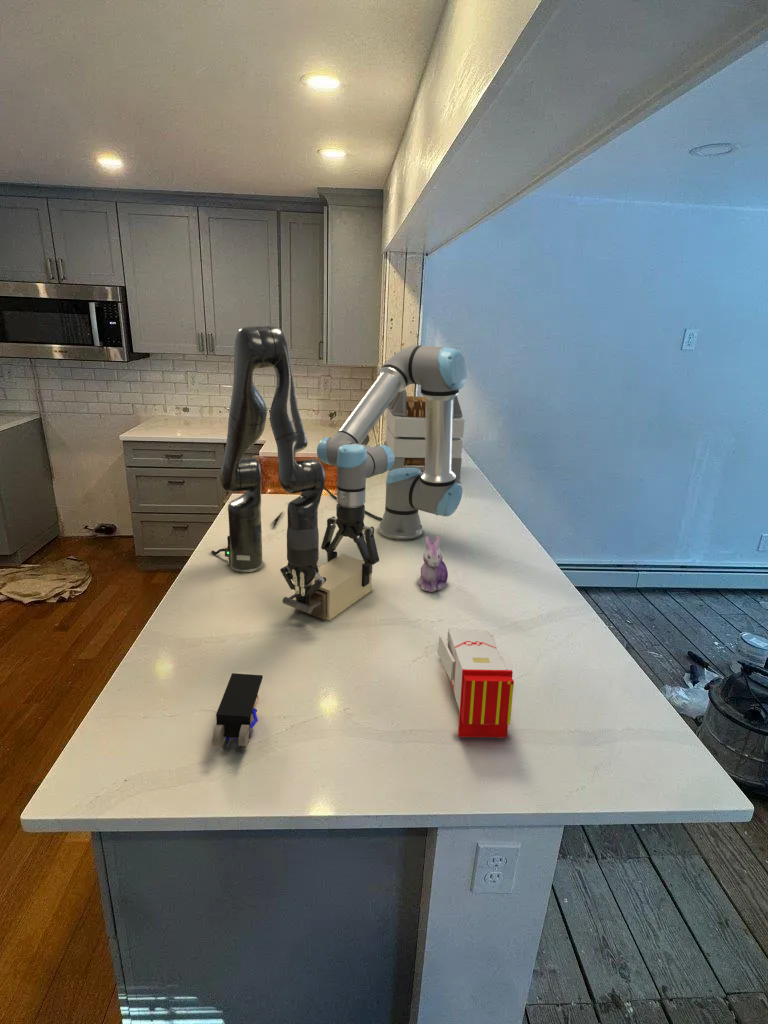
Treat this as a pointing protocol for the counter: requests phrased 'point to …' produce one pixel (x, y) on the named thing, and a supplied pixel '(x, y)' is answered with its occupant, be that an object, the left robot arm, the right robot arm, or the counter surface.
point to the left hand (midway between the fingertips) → (303, 606)
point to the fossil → (365, 440)
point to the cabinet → (342, 583)
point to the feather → (276, 520)
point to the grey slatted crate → (417, 432)
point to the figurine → (433, 567)
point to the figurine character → (237, 710)
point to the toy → (478, 682)
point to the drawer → (310, 604)
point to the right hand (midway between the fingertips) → (348, 579)
